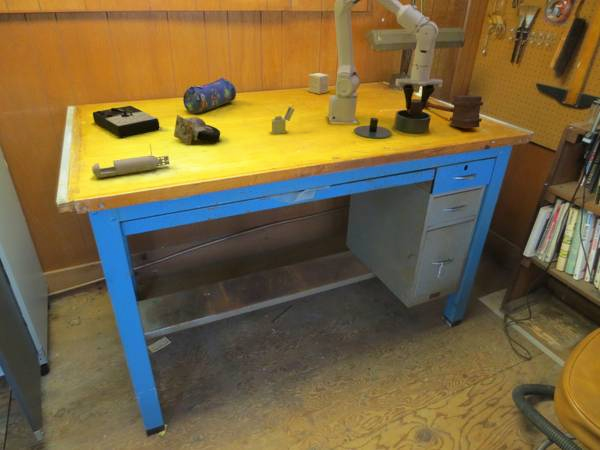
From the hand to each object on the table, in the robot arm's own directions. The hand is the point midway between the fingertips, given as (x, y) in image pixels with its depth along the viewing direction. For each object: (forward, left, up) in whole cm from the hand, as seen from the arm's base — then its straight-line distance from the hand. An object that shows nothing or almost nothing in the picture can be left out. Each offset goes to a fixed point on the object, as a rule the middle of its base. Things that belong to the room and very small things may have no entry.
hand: (414, 108), depth 137 cm
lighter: (-43, -3, -8) cm, 44 cm away
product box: (-26, +51, -8) cm, 57 cm away
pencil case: (-69, +24, -8) cm, 73 cm away
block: (0, 0, -1) cm, 1 cm away
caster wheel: (-68, -11, -8) cm, 69 cm away
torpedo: (-81, -35, -8) cm, 89 cm away
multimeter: (-93, +1, -8) cm, 93 cm away
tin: (0, 0, -7) cm, 7 cm away
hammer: (+17, +15, -7) cm, 24 cm away
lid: (-14, -4, -7) cm, 16 cm away
